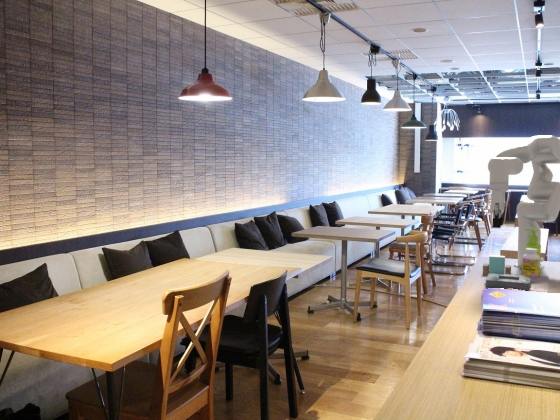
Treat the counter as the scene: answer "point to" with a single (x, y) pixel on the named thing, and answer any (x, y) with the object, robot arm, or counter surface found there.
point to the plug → (497, 264)
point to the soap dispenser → (534, 242)
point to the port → (508, 281)
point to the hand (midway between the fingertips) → (497, 226)
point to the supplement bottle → (531, 263)
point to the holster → (486, 270)
